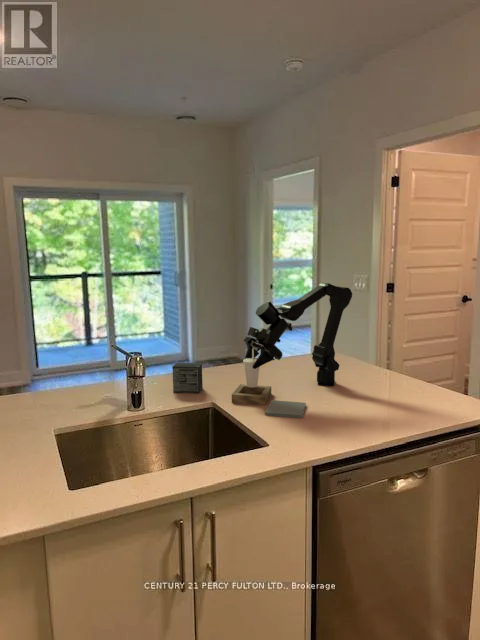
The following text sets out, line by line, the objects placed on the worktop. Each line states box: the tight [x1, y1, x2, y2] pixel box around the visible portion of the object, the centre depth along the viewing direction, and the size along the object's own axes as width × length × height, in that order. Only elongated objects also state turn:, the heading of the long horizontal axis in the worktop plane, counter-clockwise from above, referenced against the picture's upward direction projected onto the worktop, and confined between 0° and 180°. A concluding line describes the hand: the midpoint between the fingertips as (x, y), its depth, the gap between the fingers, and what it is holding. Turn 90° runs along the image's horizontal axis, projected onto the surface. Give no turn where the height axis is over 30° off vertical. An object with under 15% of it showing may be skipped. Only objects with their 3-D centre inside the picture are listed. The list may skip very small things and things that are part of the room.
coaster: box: [264, 399, 307, 419], centre depth 156 cm, size 12×12×1 cm
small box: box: [171, 362, 204, 394], centre depth 177 cm, size 11×6×10 cm, turn 84°
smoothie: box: [242, 348, 260, 387], centre depth 166 cm, size 6×6×14 cm
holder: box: [231, 384, 272, 406], centre depth 168 cm, size 12×12×3 cm
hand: (248, 366), depth 166 cm, fingers closed on smoothie, 6 cm apart
